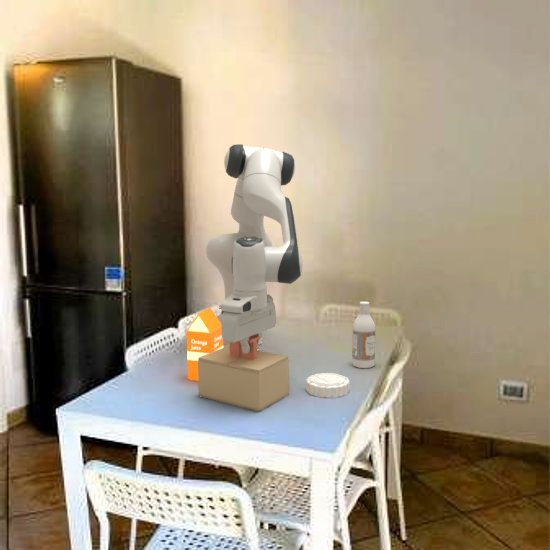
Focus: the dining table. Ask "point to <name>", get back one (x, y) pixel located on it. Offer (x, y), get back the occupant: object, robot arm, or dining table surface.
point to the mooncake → (327, 385)
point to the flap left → (224, 355)
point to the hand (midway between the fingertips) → (250, 350)
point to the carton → (243, 385)
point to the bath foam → (363, 339)
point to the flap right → (257, 358)
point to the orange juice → (202, 339)
